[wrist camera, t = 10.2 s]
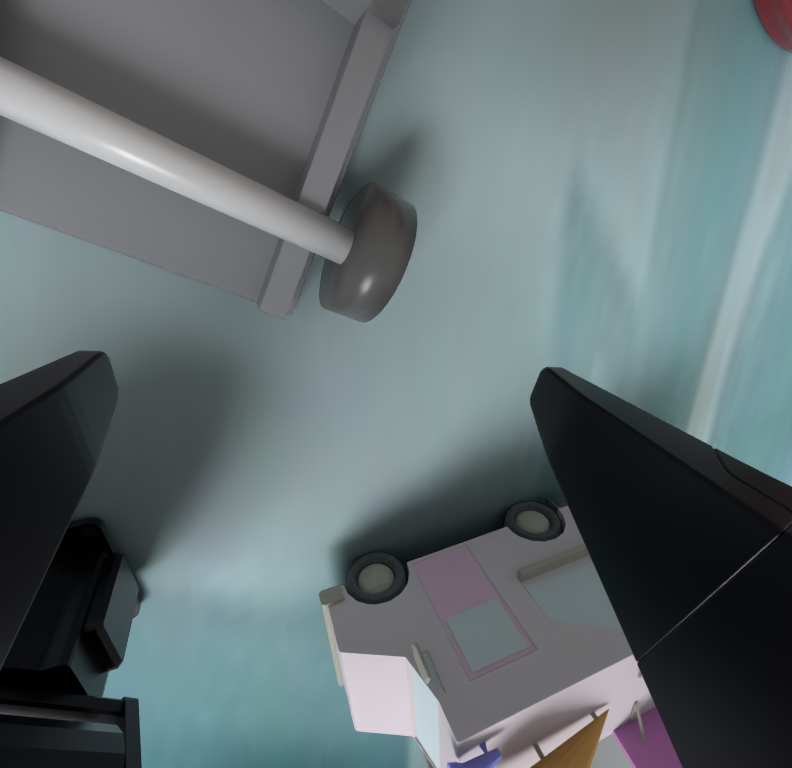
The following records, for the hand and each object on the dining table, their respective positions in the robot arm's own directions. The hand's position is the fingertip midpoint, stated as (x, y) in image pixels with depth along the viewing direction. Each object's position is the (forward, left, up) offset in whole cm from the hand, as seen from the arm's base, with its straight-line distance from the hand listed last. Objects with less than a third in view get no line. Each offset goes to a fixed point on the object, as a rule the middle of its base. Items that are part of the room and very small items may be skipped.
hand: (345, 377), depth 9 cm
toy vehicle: (+9, -21, -11) cm, 25 cm away
